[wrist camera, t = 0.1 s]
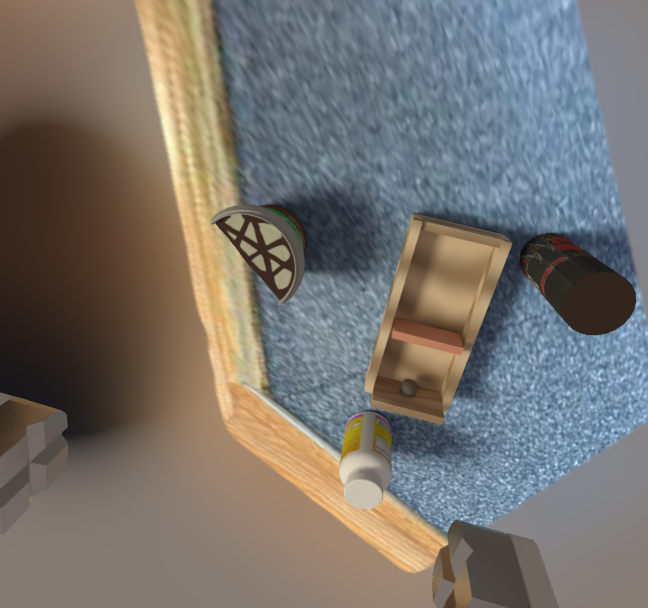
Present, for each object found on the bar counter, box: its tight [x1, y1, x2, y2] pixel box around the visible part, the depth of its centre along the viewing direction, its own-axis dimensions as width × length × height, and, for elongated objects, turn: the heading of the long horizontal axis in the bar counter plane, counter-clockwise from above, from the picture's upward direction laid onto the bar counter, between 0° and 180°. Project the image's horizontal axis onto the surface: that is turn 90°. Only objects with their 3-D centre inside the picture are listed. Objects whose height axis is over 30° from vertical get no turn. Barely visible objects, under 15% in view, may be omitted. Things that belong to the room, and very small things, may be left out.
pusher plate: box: [392, 318, 464, 356], centre depth 55 cm, size 1×8×4 cm, turn 78°
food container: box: [210, 205, 307, 305], centre depth 52 cm, size 12×6×10 cm, turn 39°
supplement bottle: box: [339, 411, 392, 509], centre depth 60 cm, size 7×7×13 cm
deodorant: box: [520, 233, 636, 335], centre depth 46 cm, size 6×6×15 cm
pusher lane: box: [364, 213, 512, 425], centre depth 55 cm, size 23×11×7 cm, turn 168°
